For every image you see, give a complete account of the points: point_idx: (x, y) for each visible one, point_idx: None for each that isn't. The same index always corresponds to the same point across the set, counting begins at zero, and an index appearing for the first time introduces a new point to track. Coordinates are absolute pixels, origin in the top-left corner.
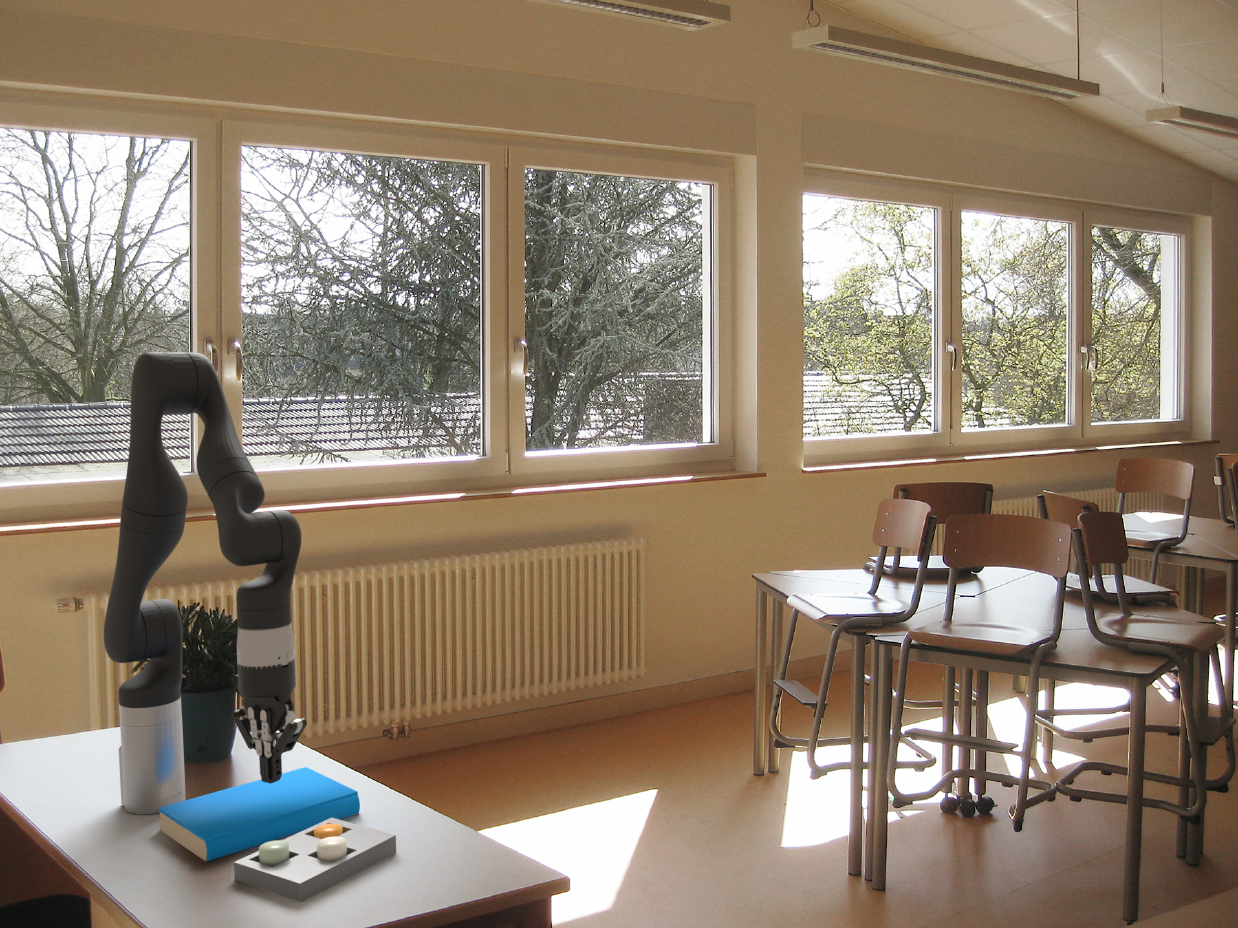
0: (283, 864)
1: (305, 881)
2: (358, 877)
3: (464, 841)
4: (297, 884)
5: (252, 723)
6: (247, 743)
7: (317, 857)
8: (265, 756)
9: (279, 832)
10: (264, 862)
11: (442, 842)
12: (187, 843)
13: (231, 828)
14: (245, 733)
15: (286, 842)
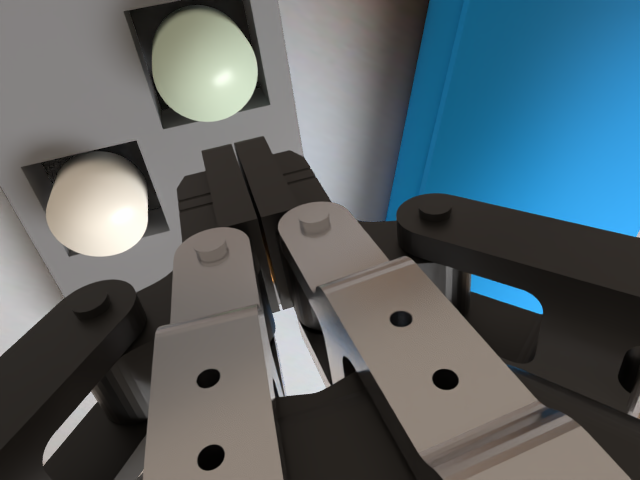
0: (120, 51)
1: None
2: (6, 204)
3: (53, 435)
4: None
5: (468, 381)
6: (467, 208)
7: (115, 160)
8: (267, 232)
9: (397, 176)
10: (181, 12)
11: (82, 406)
12: None
13: (467, 61)
14: (540, 251)
15: (206, 118)
